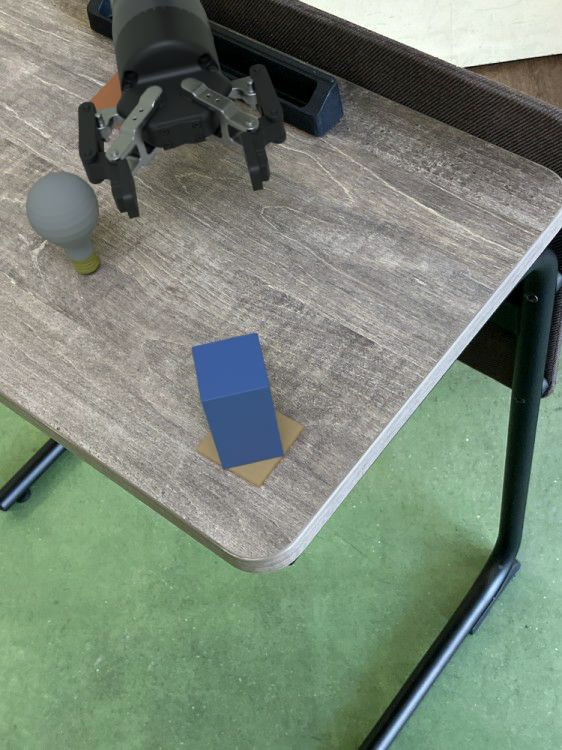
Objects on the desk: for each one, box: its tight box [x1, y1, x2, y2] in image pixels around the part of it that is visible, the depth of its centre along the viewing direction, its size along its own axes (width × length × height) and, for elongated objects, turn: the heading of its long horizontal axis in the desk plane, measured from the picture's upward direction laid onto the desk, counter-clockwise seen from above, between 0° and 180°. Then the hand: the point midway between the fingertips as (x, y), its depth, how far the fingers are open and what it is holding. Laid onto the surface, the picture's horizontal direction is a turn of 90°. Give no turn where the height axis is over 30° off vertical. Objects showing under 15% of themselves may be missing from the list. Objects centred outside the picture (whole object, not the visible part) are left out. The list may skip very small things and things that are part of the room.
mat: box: [195, 410, 305, 488], centre depth 68 cm, size 6×6×1 cm
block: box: [191, 332, 285, 470], centre depth 64 cm, size 4×4×9 cm
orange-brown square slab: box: [88, 71, 121, 131], centre depth 90 cm, size 8×8×2 cm
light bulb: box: [25, 171, 100, 275], centre depth 75 cm, size 5×6×10 cm
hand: (194, 195), depth 63 cm, fingers open, 8 cm apart
